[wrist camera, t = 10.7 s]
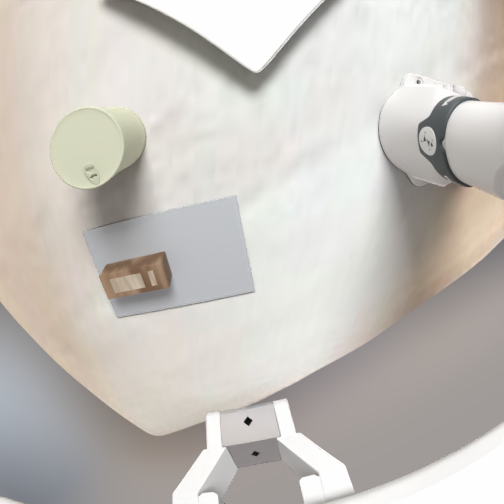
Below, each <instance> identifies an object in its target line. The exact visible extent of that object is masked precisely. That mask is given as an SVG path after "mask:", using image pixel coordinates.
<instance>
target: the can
mask: <svg viewBox="0 0 504 504" xmlns="http://www.w3.org/2000/svg"><path fill="white" fill-rule="evenodd" d="M145 142H146V132H145V127H144V124H143V122H142V120H141V119H140V118H139V116H138V115H137V114H136V113H135V112H133V111H132V110H130V109H127V108H124V107H109V108H99V107H92V106H87V107H81V108H77V109H75V110H73V111H71V112H69V113H68V114H67V115H65V116H64V117H63V118H62V119H61V120H60V122H59V123H58V124H57V126H56V128H55V130H54V132H53V134H52V138H51V142H50V157H51V162H52V165H53V167H54V170H55V171H56V173H57V174H58V176H59V177H60V178H61V179H62V180H63V181H64V182H65V183H67V184H68V185H70V186H72V187H75V188H78V189H94V188H97V187H100V186H102V185H103V184H105V183H107V182H108V181H109V180H110V179H111V178H112V177H113V176H115V175H116V174H117V173H119V172H120V171H121V170H123V169H126V168H128V167H129V166H131V165H132V164H134V163H135V162H136V161H137V160H138V158H139V157H140V156H141V154H142V152H143V150H144V147H145Z"/></svg>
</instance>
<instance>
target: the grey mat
mask: <svg viewBox="0 0 504 504" xmlns="http://www.w3.org/2000/svg"><path fill="white" fill-rule="evenodd" d="M83 234H84V237H85V239H86V242H87V245H88V248H89V250H90V253H91V256H92V258H93V261H94V263H95V266H96V268H97V271H98V273H99V276H100V274H101V272H102V271H103V269H104V267H105V266H106V264H110V263H114V262H119V261H123V260H128V259H132V258H137V257H141V256H146V255H150V254H155V253H159V252H164V251H165V253H166V256H167V259H168V262H169V266H170V269H171V272H172V278H171V283H170V288H165V289H159V290H154V291H149V292H144V293H139V294H134V295H129V296H124V297H118V298H113V299H109V300H110V302H111V304H112V306H113V309H114V311H115V313H116V315H117V317H123V316H129V315H135V314H140V313H146V312H151V311H157V310H162V309H168V308H173V307H179V306H184V305H189V304H194V303H199V302H204V301H209V300H215V299H220V298H224V297H229V296H234V295H239V294H244V293H249V292H253V291H255V289H254V284H253V279H252V273H251V268H250V263H249V258H248V253H247V248H246V243H245V238H244V233H243V228H242V223H241V218H240V213H239V208H238V202H237V197H236V195H234V196H229V197H224V198H219V199H214V200H210V201H205V202H201V203H196V204H192V205H187V206H183V207H178V208H174V209H170V210H165V211H161V212H157V213H153V214H149V215H145V216H141V217H137V218H133V219H129V220H125V221H121V222H117V223H113V224H109V225H106V226H102V227H98V228H94V229H91V230H87V231H84V232H83Z"/></svg>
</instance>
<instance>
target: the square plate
mask: <svg viewBox="0 0 504 504" xmlns="http://www.w3.org/2000/svg"><path fill="white" fill-rule="evenodd" d="M134 1H137V2H139V3H141V4H144V5H146V6H148V7H150V8H152V9H154V10H156V11H158V12H160V13H162V14H164V15H166V16H168V17H170V18H172V19H174V20H176V21H177V22H179V23H181V24H182V25H184V26H186V27H187V28H189V29H191V30H192V31H194V32H195V33H197V34H198V35H200V36H201V37H203V38H204V39H206V40H207V41H209V42H210V43H212V44H213V45H214V46H216V47H217V48H219V49H220V50H221V51H223V52H224V53H225V54H227V55H228V56H230V57H231V58H232V59H234V60H235V61H236V62H238V63H239V64H241V65H242V66H243V67H245V68H246V69H248V70H250V71H252V72H254V73H259V72H261V71H262V70H263V69H264V68H266V67H267V65H268V64H269V63H270V62H271V61H272V60H273V58H274V57H275V56H276V55H277V54H278V52H279V51H280V50H281V49H282V48H283V46H284V45H285V44H286V43H287V42H288V40H289V39H290V38H291V37H292V36H293V35H294V33H295V32H296V31H297V30H298V29H299V28H300V27H301V25H302V24H303V23H304V22H305V21H306V20H307V19H308V18H309V16H310V15H311V14H312V13H313V12H314V11H315V10H316V9H317V8H318V7H319V6H320V5H321V4H322V3H323V2H324V1H325V0H134Z"/></svg>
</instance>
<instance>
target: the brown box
mask: <svg viewBox="0 0 504 504" xmlns="http://www.w3.org/2000/svg"><path fill="white" fill-rule="evenodd" d="M99 278H100V280H101V283H102V285H103V287H104V290H105V292H106V294H107V297H108V299H113V298H118V297H124V296H129V295H134V294H139V293H144V292H149V291H154V290H159V289H165V288H170V283H171V278H172V272H171V269H170V266H169V262H168V259H167V256H166V253H165V251H164V252H159V253H155V254H150V255H146V256H141V257H137V258H132V259H128V260H123V261H119V262H114V263H110V264H106V266H105V267H104V269H103V271H102V272H101V274H100V276H99Z"/></svg>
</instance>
